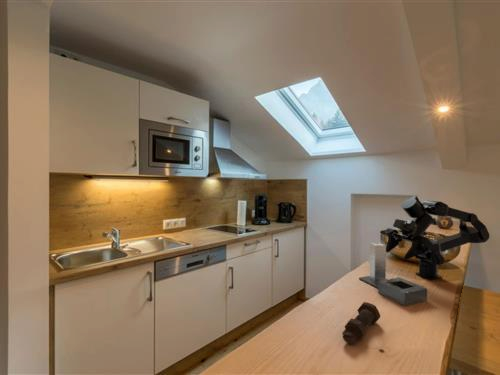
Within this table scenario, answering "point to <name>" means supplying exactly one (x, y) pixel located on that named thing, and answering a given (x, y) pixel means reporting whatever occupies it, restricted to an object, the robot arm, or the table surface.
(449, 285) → the table surface
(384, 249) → the steel peg
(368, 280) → the rubber mat
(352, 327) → the bolt
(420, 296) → the socket block
